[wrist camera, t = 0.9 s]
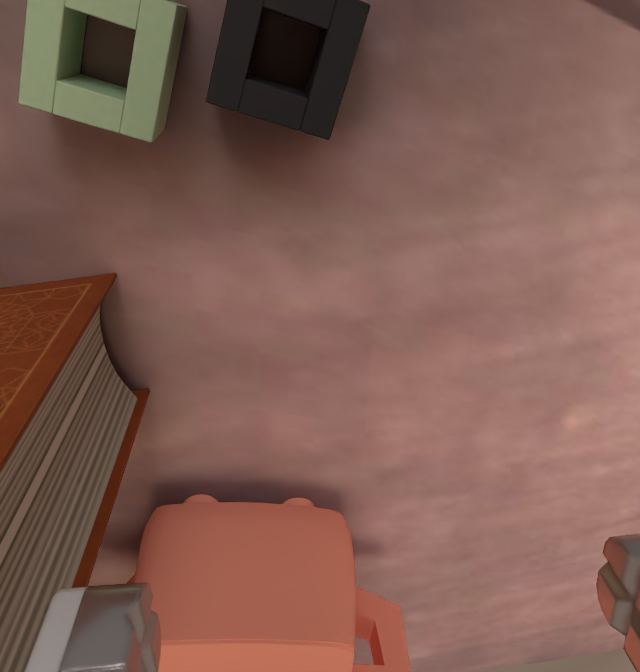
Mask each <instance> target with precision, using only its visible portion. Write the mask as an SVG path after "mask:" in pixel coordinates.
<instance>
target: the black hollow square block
mask: <svg viewBox="0 0 640 672" xmlns="http://www.w3.org/2000/svg"><path fill="white" fill-rule="evenodd" d="M263 9H265V10H268V11H271V12H273V13H276V14H279V15H282V16H285V17H288V18H291V19H294V20H296V21H299V22H302V23H305V24H308V25H311V26H314V27H316V28H319V29H321V32H320V36H319V39H318V43H317V46H316V50H315V54H314V57H313V61H312V64H311V68H310V72H309V75H308V79H307V82H306V86H305V90H304V91H303V90H300V89H297V88H294V87H291V86H288V85H285V84H282V83H279V82H276V81H273V80H270V79H267V78H263V77H260V76H257V75H254V74H251V73H248V70H249V66H250V62H251V57H252V53H253V49H254V45H255V41H256V36H257V32H258V28H259V24H260V20H261V15H262V11H263ZM369 9H370V5H369V4H368V3H365V2H362V1H359V0H227V5H226V9H225V14H224V19H223V23H222V28H221V33H220V37H219V42H218V47H217V51H216V56H215V61H214V65H213V70H212V75H211V79H210V84H209V89H208V93H207V98H206V102H208V103H211V104H214V105H217V106H220V107H224V108H227V109H230V110H233V111H238V112H240V113H243V114H246V115H250V116H253V117H256V118H259V119H262V120H266V121H269V122H272V123H275V124H279V125H282V126H285V127H288V128H291V129H295V130H300V131H301V132H304V133H308V134H311V135H314V136H317V137H321V138H324V139H327V140H329V139H330V137H331V134H332V130H333V127H334V124H335V120H336V117H337V114H338V111H339V107H340V104H341V101H342V97H343V94H344V91H345V87H346V84H347V81H348V78H349V74H350V71H351V68H352V64H353V61H354V58H355V55H356V51H357V48H358V45H359V41H360V38H361V35H362V32H363V28H364V25H365V22H366V18H367V15H368V12H369Z"/></svg>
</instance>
